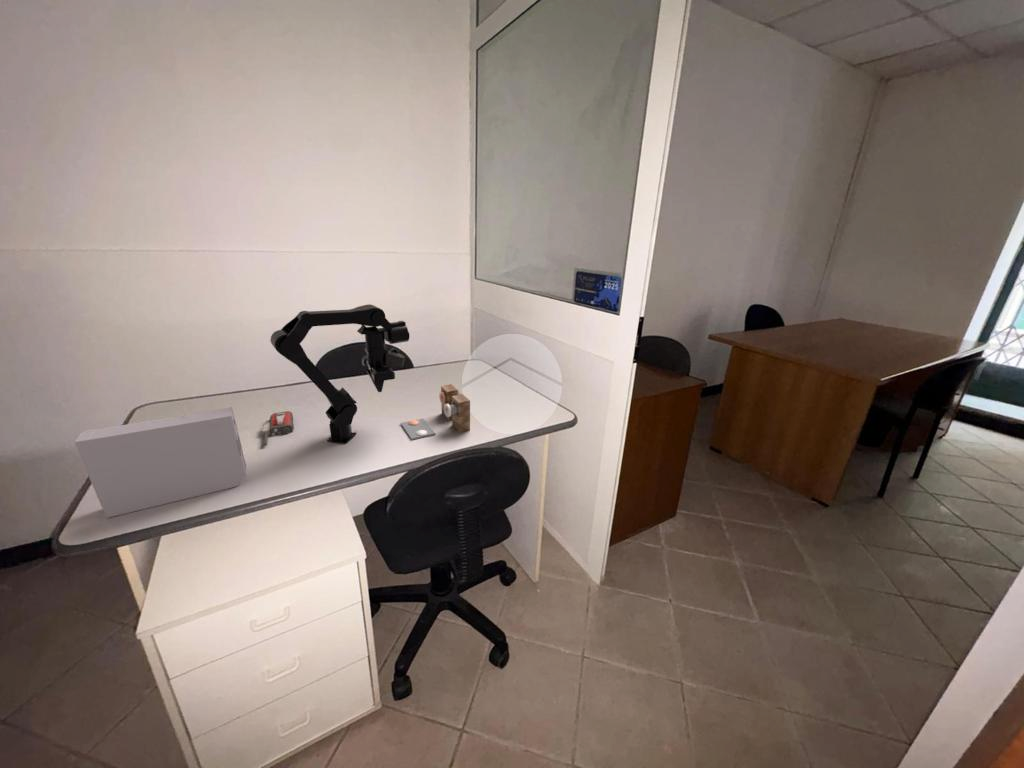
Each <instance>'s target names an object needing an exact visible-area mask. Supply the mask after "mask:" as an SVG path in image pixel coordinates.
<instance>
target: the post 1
mask: <svg viewBox="0 0 1024 768" xmlns="http://www.w3.org/2000/svg"><path fill="white" fill-rule="evenodd" d="M458 391H459V389H458V388H457V387H456V386H454V385H453V384H452V383H450V384H445V385H440V392H444V393H445V394H446V404H449V405H452V396H455V395H458ZM440 404H441V403H440ZM444 405H445V404H441V414H442V416H443V417H445V419H446V420H447V421H450V420H451V421H452V415H451V416H450V417H447V416H446V415H445V412H444Z"/></svg>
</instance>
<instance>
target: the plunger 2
mask: <svg viewBox="0 0 1024 768" xmlns="http://www.w3.org/2000/svg"><path fill="white" fill-rule="evenodd" d="M444 412H445V415H446V416H447V417H450V416H451V415H452V414H456V413H458V406H457V405H456V404H453V405H449V404H445V405H444Z"/></svg>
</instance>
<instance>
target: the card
mask: <svg viewBox="0 0 1024 768" xmlns="http://www.w3.org/2000/svg"><path fill="white" fill-rule="evenodd" d="M400 426H402V428H403V430H404V431H405V432H406V434H407V436H408V437H409V438H410V440H411V441H414V440H418V439H419V440H420V439H422V438H427V437H431V436H436V432H435V431H434V430H433V429H432V427H431V426H430V424H429V423H427V421H426V420H425V419H424V418H418V419H411V420H408V421H404V422H401V423H400Z"/></svg>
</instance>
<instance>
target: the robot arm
mask: <svg viewBox="0 0 1024 768" xmlns="http://www.w3.org/2000/svg"><path fill="white" fill-rule="evenodd" d="M406 323H407V322H405V321H404V320H399V321H394V322H390V321H389V319H387V318H386V314H385V312H384V310H383V309H382V308H380V307H377V306H376V305H373V304H370V303H369V304H368V303H367V304H364V305H359V306H356V307H354V308H349V309H333V310H331V309H330V310H314V311H313V310H312V311H311V310H310V311H309V310H301V311H300V312H298V314H297V315H296V316H295V317H293V319H291V320H289V321H288V322H287V323H286V324H285V325H283V327H282V328H280V329H278V330H275V331H274V332H273V333H272V334H271V336H270V344H271V345H272V347H273V348H274V349H275V351H277V353H279V354H280V355H281V356H282V357H284V358H285V359H287V360H288V361H290V362H291V363H293V365H295V366H297V367H298V368H299V370H301V371H302V373H304V374H305V375H306V377H307V378H308V379H309V380H310V381H311V382H312V383H313V384H314V385H315V386H316V387H317V389H319V390H320V391H321V393H323V395H324V396H325V397H326V398H327V401H328V403H329V404H330V406H329V407H328V409H327V410H326V411H325V415H326V416H327V418H328V419H329V424H328V425H329V432H330V436H329V438H327V439H326V440H327V443H328V442H329V443H337V444H347V443H349V442H350V441H351V440H352V439H353V438H354V437H355V436H356V435H357V433H356V432H354V431H353V432H352V423H353V420H354V416H355V415H356V414H357V412H358V406H357V403H358V402H357V401H356V400H355V398H353V397H352V395H350V393H349V392H348V391H347V390H346V389H345V388H344V387H341V388H340V389H338V388H336V387H335V386H334V385H333V383H331V381H330V380H329V379H328V378H327V377H326V375H324V374H323V373H322V371H321V370H320V369H319V368H318V367H317V366H316V365H315V364H314V362H312V360H311V359H310V358H309V357H308V355H307V354H306V352H305V350H304V348H303V346H302V345H301V343H302V342H303V341H304V340H305V338H306V336H307V335H308V334H309V332H310V330H311V329H312V328H313V327H325V326H339V325H341V326H342V325H352V324H353V325H359V326H360V327H359V328H358V329H357V331H356V332H357V333H359V334H361V336H363V335H364V338H365V339H364V340H365V348H364V351H365V352H366V355H363V356H362V358H361V364H362V366H363V367H366V366H367V367H368V369H366V373H367V375H368V376H369V378H370V380H371V381H372V383H373V385H374V387H375V389H376V391H377V392H378V393H383V389H384V388H383V387H384V384H385V381H392V380H395V379H396V373H395V371H394V370H393V369H392V368H390V365H393V366H398V367H401V368H402V367H403V366H404V362H405V359H406V357H405V355H404V354H401V353H399V352H398V350H397V348H394V347H391V348H390V349H389V350H388V349H387V348H386V342H388V343H389V344H390V345H393V344H399V343H401V344H402V343H407V342H409V340H410V332H409V330H408V329H409V328H408V327H407V325H406Z"/></svg>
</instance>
